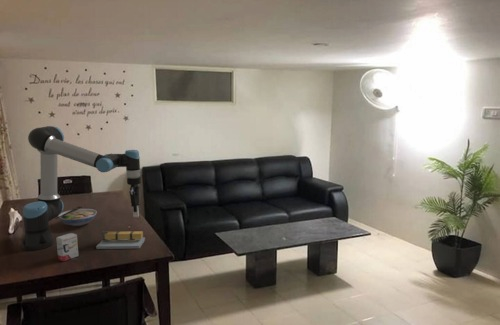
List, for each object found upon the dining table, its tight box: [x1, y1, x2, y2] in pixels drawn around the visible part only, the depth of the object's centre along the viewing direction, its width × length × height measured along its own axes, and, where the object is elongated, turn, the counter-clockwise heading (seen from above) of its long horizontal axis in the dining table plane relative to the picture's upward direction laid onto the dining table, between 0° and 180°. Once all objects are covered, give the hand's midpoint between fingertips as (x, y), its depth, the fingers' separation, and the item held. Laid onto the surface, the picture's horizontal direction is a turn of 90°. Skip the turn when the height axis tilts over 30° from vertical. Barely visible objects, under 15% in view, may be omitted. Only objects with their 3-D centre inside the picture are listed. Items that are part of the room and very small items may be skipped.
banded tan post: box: [101, 230, 144, 241], centre depth 216 cm, size 22×4×5 cm, turn 92°
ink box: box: [55, 232, 79, 262], centre depth 195 cm, size 9×5×12 cm, turn 146°
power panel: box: [95, 236, 146, 250], centre depth 214 cm, size 23×13×2 cm, turn 92°
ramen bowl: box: [54, 206, 98, 227], centre depth 247 cm, size 25×23×8 cm
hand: (136, 216), depth 223 cm, fingers closed
